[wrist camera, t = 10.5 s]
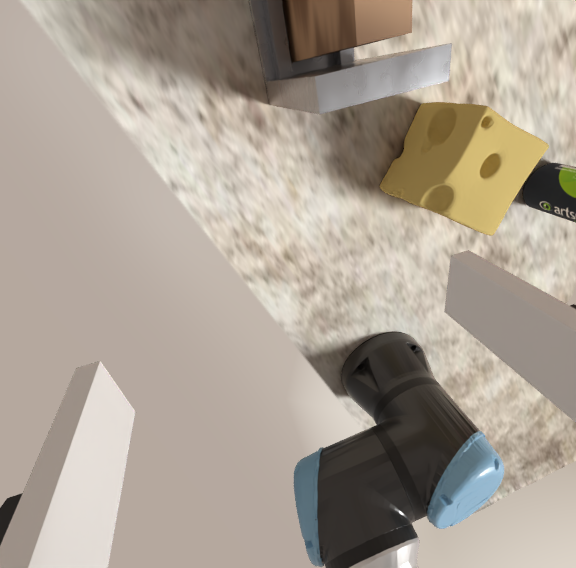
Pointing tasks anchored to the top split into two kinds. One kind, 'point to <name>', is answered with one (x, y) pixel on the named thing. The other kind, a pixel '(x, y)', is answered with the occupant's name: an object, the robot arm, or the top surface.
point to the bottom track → (280, 43)
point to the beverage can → (553, 190)
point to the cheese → (463, 163)
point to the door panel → (342, 24)
